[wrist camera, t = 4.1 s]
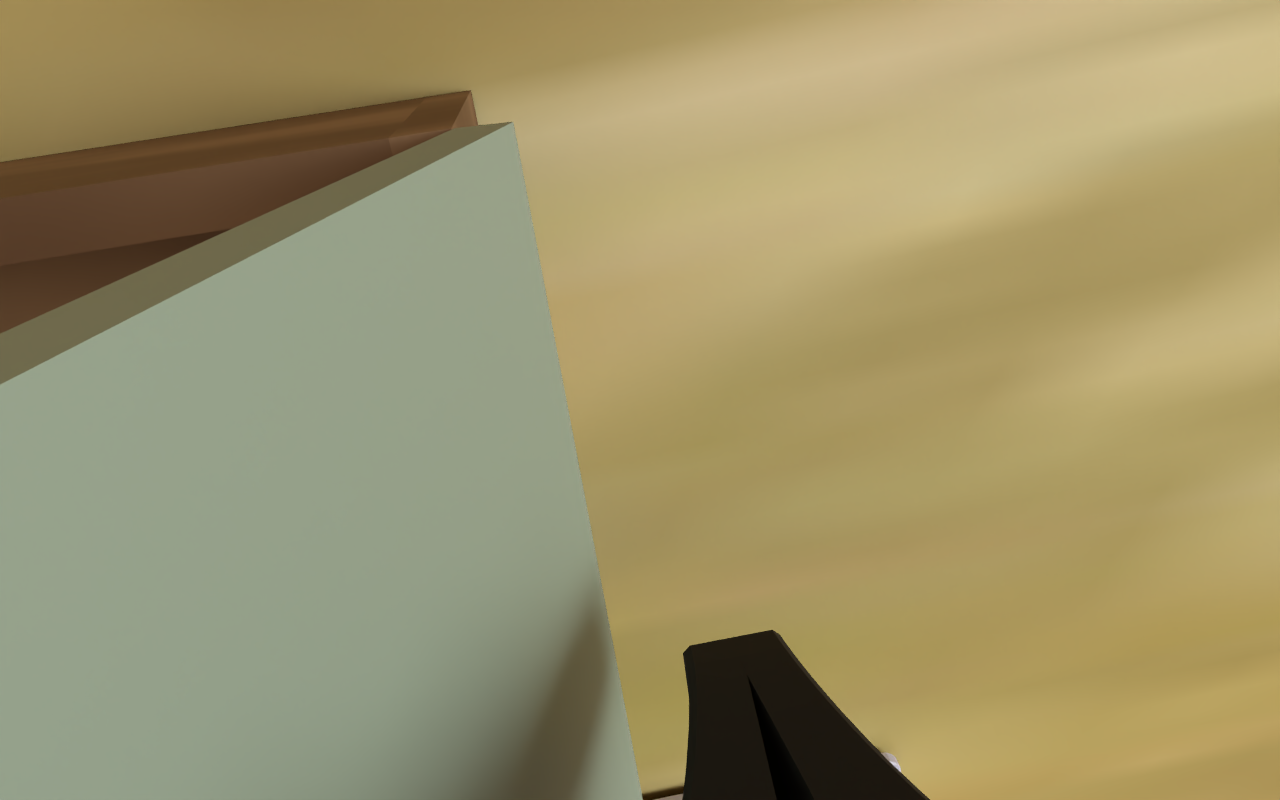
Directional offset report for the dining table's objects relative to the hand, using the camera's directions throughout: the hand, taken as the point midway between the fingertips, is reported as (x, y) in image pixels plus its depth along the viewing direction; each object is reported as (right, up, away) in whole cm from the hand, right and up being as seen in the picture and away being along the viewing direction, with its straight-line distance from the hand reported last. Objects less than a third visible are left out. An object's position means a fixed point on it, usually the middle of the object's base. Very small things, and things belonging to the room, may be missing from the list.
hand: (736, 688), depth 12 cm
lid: (-4, -3, -4) cm, 6 cm away
